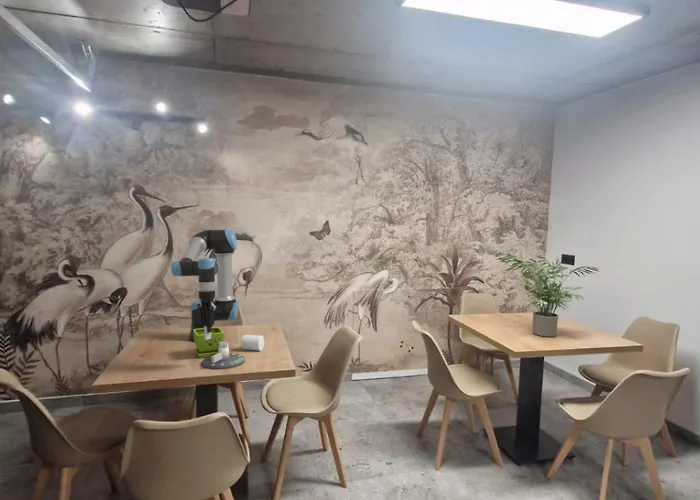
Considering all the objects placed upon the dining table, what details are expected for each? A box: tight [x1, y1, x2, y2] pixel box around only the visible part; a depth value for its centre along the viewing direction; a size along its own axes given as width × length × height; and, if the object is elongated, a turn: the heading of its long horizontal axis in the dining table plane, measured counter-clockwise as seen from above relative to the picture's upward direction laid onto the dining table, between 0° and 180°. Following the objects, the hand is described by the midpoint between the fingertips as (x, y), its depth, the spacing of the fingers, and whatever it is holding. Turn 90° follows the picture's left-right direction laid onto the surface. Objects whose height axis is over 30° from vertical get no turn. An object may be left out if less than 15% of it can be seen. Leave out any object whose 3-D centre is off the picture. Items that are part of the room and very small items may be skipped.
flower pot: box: [193, 326, 225, 359], centre depth 231 cm, size 14×14×13 cm
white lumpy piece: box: [211, 341, 230, 363], centre depth 214 cm, size 12×5×8 cm, turn 161°
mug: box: [240, 334, 265, 352], centre depth 241 cm, size 12×10×8 cm
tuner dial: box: [202, 352, 246, 370], centre depth 217 cm, size 20×20×2 cm
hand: (207, 338), depth 212 cm, fingers closed
